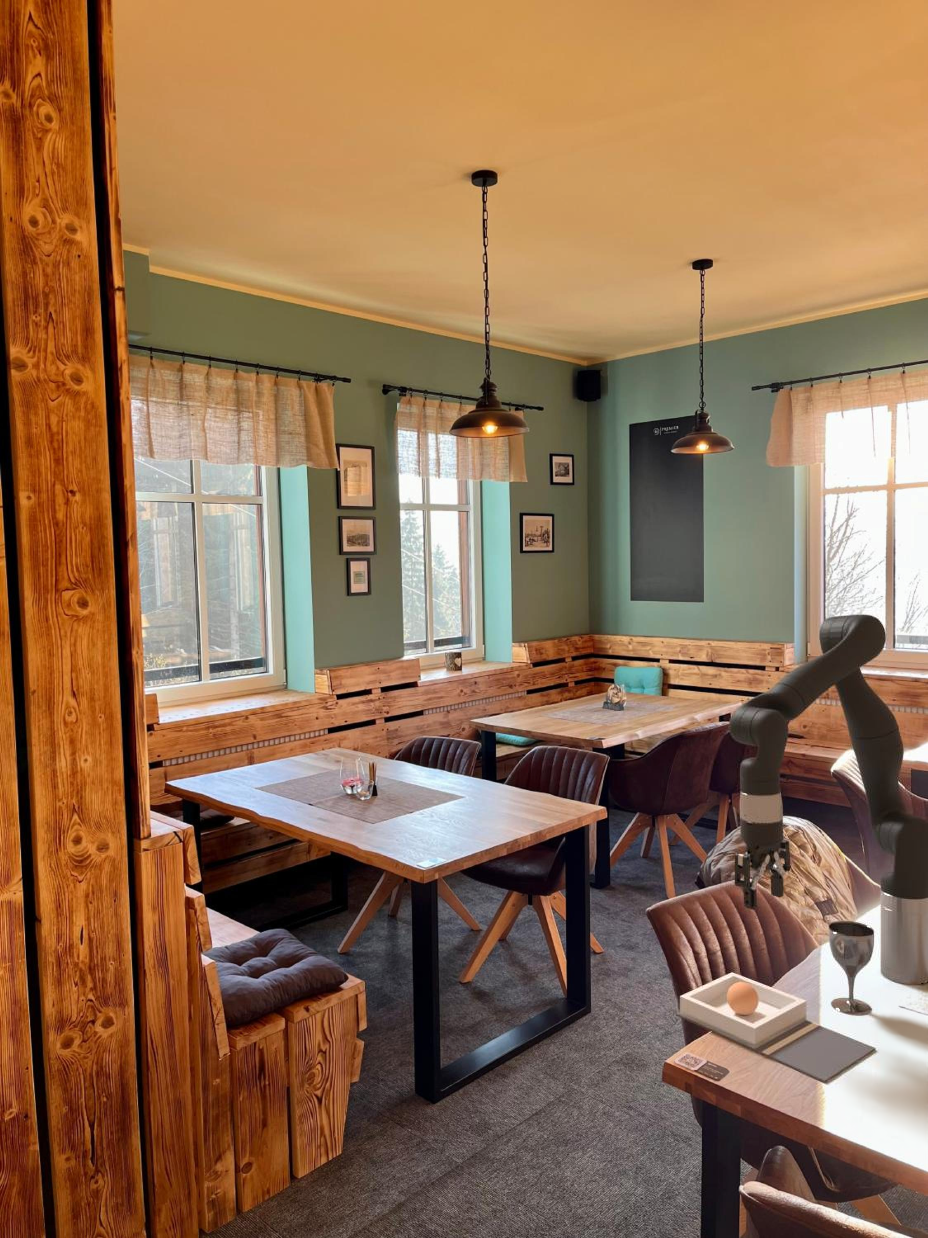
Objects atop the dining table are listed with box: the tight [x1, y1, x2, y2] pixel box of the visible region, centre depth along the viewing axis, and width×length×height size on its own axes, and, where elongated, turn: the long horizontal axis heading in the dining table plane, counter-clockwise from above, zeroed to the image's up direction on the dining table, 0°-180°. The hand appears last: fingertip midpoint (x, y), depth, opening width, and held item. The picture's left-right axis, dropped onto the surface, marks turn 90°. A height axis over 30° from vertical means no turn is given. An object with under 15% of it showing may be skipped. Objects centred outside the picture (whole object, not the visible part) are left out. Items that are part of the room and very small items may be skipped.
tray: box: [679, 972, 807, 1049], centre depth 168 cm, size 16×16×4 cm
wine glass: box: [828, 920, 875, 1016], centre depth 172 cm, size 8×8×15 cm
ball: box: [727, 982, 759, 1015], centre depth 167 cm, size 6×6×6 cm
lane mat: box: [675, 1011, 876, 1084], centre depth 163 cm, size 16×30×1 cm, turn 38°
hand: (764, 902), depth 168 cm, fingers open, 8 cm apart
